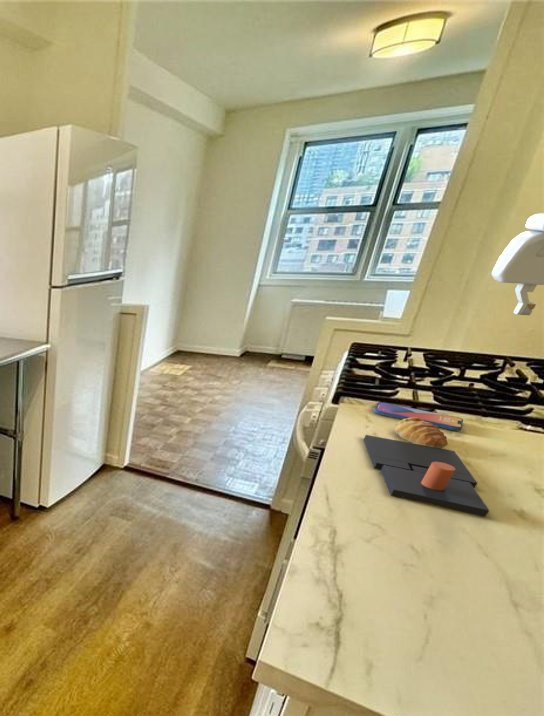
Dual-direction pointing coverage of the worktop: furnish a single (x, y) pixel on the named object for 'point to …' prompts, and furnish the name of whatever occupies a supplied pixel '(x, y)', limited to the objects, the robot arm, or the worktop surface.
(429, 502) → the tab pad
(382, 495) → the worktop surface
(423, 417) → the smartphone
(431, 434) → the pastry
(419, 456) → the notch pad
